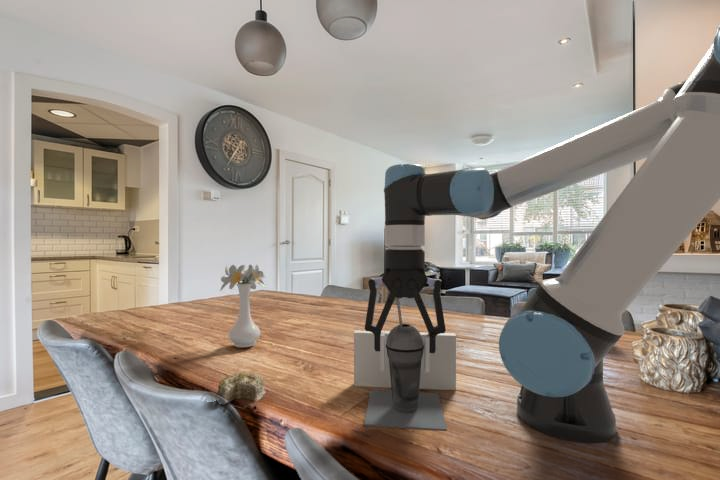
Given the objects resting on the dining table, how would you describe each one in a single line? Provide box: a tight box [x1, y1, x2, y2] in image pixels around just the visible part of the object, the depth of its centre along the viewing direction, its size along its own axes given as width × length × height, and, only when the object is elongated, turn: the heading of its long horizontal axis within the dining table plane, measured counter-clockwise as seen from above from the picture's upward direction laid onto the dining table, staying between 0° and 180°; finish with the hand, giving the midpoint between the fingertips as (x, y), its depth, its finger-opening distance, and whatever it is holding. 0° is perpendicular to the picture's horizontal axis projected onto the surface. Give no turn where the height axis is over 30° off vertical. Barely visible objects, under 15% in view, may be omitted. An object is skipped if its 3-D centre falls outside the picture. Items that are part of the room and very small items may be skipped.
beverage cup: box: [386, 300, 424, 413], centre depth 68 cm, size 7×7×20 cm
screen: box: [353, 329, 457, 391], centre depth 79 cm, size 22×2×12 cm, turn 83°
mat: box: [363, 389, 448, 431], centre depth 68 cm, size 14×14×1 cm
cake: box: [216, 372, 267, 403], centre depth 74 cm, size 10×10×5 cm
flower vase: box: [219, 264, 266, 348], centre depth 111 cm, size 13×18×25 cm
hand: (404, 368), depth 68 cm, fingers open, 8 cm apart
